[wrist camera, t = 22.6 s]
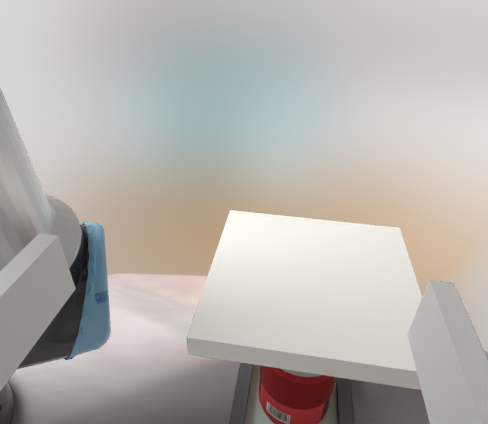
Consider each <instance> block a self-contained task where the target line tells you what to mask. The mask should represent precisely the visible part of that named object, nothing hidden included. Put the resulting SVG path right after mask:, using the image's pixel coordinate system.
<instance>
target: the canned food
mask: <svg viewBox="0 0 488 424" xmlns="http://www.w3.org/2000/svg"><path fill="white" fill-rule="evenodd" d="M336 379H337V377H333V376H326V375H319V374H313V373H306V372H300V371H293V370H287V369H280V368H274V367H267V366H261V365H260V376H259V400H260V404H261V406H262V408H263V410H264V412H265V413H266V415H267V416H268V418H269V419H270V420H271V421H272V422H274V423H275V424H318V423H319V422H320V421H321V420H322V419H323V418H324V417H325V415H326V413H327V411H328V407H329V404H330V400H331V397H332V393H333V390H334V386H335V382H336Z"/></svg>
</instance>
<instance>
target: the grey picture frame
mask: <svg viewBox="0 0 488 424" xmlns="http://www.w3.org/2000/svg"><path fill="white" fill-rule="evenodd" d="M259 376H260V365H254V364H248V363H240V368H239V374H238V379H237V385H236V390H235V395H234V401H233V406H232V411H231V417H230V422H229V424H275V423H274V422H272V421H271V420H270V419H269V418H268V416H267V415H266V413H265V412H264V410H263V408H262V406H261V404H260V400H259ZM318 424H354V417H353V405H352V394H351V382H350V379H346V378H339V377H337V379H336V382H335V386H334V390H333V393H332V397H331V400H330V404H329V407H328V411H327V413H326V415H325V417H324V418H323V419H322V420H321V421H320V422H319V423H318Z"/></svg>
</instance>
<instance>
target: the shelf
mask: <svg viewBox="0 0 488 424" xmlns="http://www.w3.org/2000/svg"><path fill="white" fill-rule="evenodd" d="M421 300H422V296H421V293H420V290H419V286H418V283H417V280H416V277H415V274H414V271H413V268H412V265H411V262H410V259H409V256H408V252H407V249H406V246H405V243H404V240H403V237H402V234H401V231H400V228H395V227H385V226H376V225H366V224H357V223H347V222H337V221H328V220H318V219H308V218H299V217H290V216H280V215H270V214H260V213H250V212H241V211H232V210H230V213H229V216H228V219H227V222H226V224H225V227H224V231H223V233H222V236H221V239H220V242H219V245H218V248H217V251H216V254H215V256H214V260H213V263H212V265H211V268H210V271H209V274H208V277H207V280H206V283H205V286H204V288H203V291H202V294H201V297H200V300H199V303H198V306H197V309H196V312H195V315H194V318H193V320H192V323H191V326H190V329H189V332H188V335H187V345H188V354H189V355H196V356H202V357H209V358H215V359H222V360H228V361H235V362H241V363H248V364H254V365H261V366H267V367H274V368H280V369H287V370H293V371H300V372H306V373H313V374H319V375H326V376H333V377H339V378H346V379H352V380H359V381H365V382H372V383H378V384H385V385H391V386H398V387H404V388H411V389H417V390H421V387H420V383H419V379H418V375H417V371H416V367H415V363H414V359H413V355H412V351H411V347H410V343H409V339H408V335H407V334H408V332H409V329H410V327H411V324H412V322H413V319H414V317H415V315H416V312H417V310H418V307H419V305H420V302H421Z"/></svg>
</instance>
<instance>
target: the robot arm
mask: <svg viewBox="0 0 488 424" xmlns="http://www.w3.org/2000/svg"><path fill="white" fill-rule="evenodd" d="M106 267H107V266H106V252H105V237H104V229H103V226H102V225H100V224H98V223H90V222H81V223H79V220H78V218H77V217H76V214H75V213H74V212H73V210H72V209H71V208H70V207H69V206H68V205H67V204H65V203H64V202H62V201H61V200H59V199H57V198H55V197H53V196H50V195H47V194H45V193H44V191H43V188H42V186H41V183H40V181H39V179H38V176H37V174H36V172H35V169H34V167H33V164H32V163H31V160H30V157H29V155H28V153H27V150H26V148H25V146H24V143H23V141H22V139H21V136H20V134H19V131H18V129H17V127H16V125H15V122H14V120H13V117H12V115H11V113H10V110H9V108H8V105H7V103H6V100H5V98H4V96H3V93H2V91H1V89H0V424H10V422H11V419H12V415H13V410H14V396H13V392H12V389H11V387H10V385H9V383H8V380H9V379H10V377H11V376H12V375H13V373H14V372H15V371H16V369H20V368H24V367H29V366H33V365H37V364H41V363H46V362H50V361H54V360H59V359H63V358H64V359H65V360H68V359H72V358H73V357H75V356H76V355H78V354H82V353H85V352H89V351H92V350H96V349H98V348H100V347H102V346H103V345H104V344H105V343H106V342H107V340H108V339H109V337H110V333H111V326H110V311H109V296H108V281H107V268H106ZM407 335H408V339H409V343H410V347H411V351H412V355H413V359H414V363H415V367H416V371H417V375H418V379H419V383H420V387H421V391H422V395H423V399H424V403H425V407H426V411H427V415H428V418H429V422H430V424H488V359H487V356H486V354H485V352H484V350H483V348H482V345H481V343H480V340H479V338H478V336H477V334H476V331H475V329H474V327H473V325H472V322H471V320H470V318H469V316H468V313H467V311H466V309H465V306H464V304H463V302H462V300H461V297H460V295H459V293H458V290H457V288H456V286H455V284H454V283H451V282H442V281H434V280H429V283H428V285H427V288H426V290H425V292H424V295H423V297H422V300H421V302H420V305H419V307H418V310H417V312H416V315H415V317H414V319H413V322H412V324H411V327H410V329H409V332H408V334H407Z"/></svg>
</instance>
